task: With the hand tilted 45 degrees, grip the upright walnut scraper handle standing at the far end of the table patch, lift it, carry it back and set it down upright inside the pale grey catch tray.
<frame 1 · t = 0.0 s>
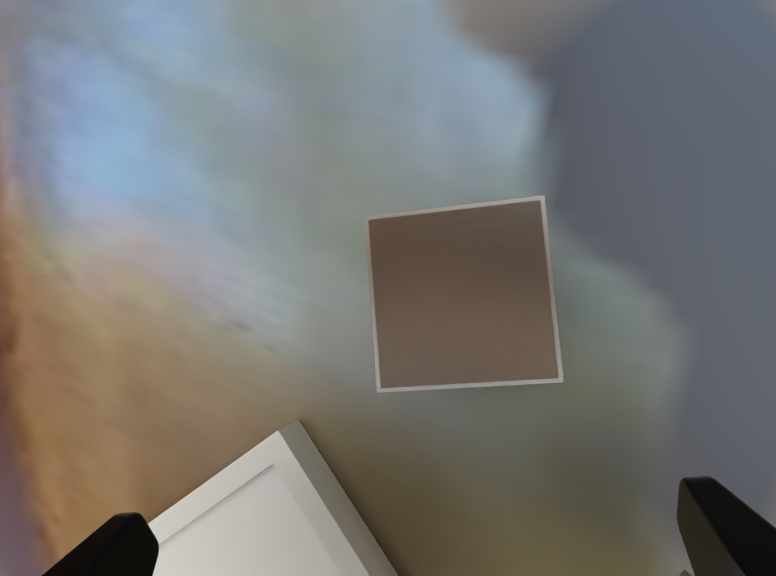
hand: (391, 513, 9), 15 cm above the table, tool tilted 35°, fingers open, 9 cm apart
scraper handle: (470, 309, 23), on the table
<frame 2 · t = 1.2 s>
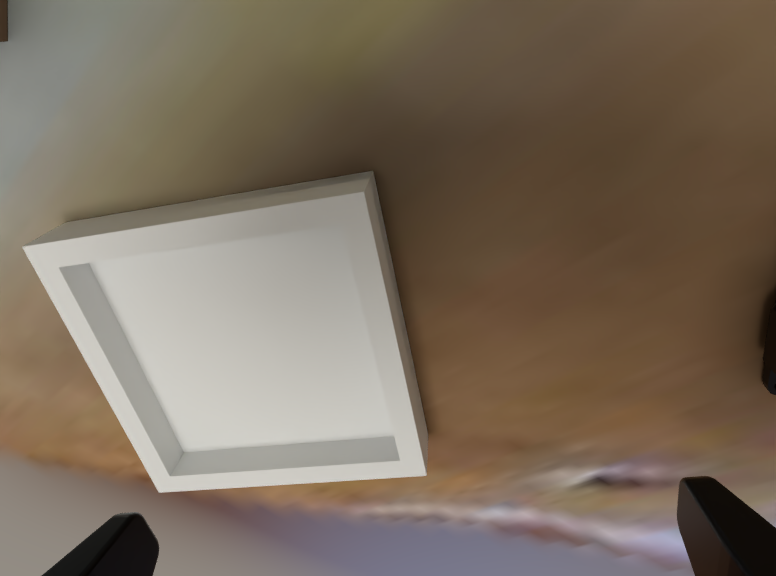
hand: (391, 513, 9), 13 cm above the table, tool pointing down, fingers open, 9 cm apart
catch tray: (260, 336, 23), on the table
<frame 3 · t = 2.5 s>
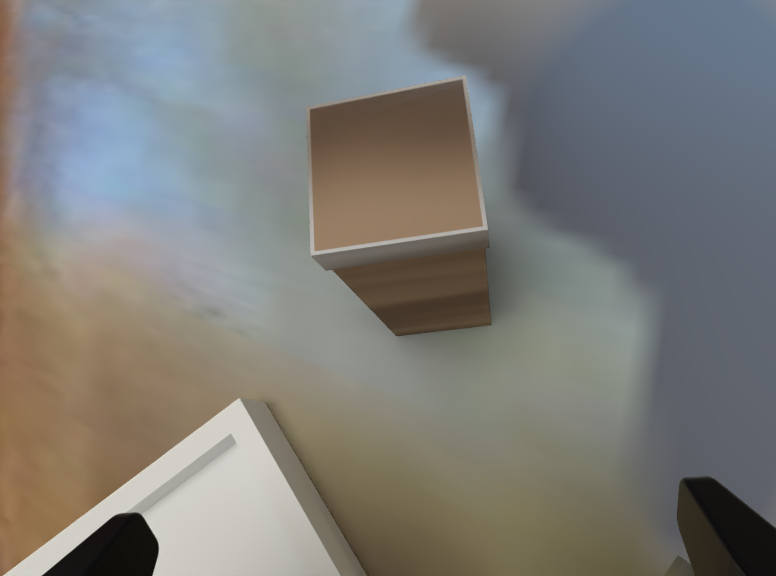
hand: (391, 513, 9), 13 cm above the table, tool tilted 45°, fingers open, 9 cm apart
scraper handle: (438, 285, 24), on the table
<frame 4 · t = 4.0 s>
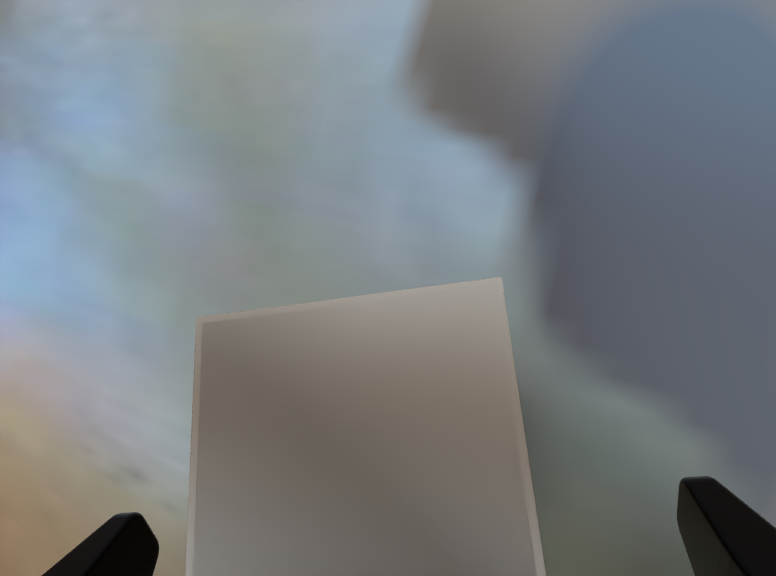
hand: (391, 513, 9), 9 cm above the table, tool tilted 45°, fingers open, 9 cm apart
scraper handle: (441, 455, 17), on the table
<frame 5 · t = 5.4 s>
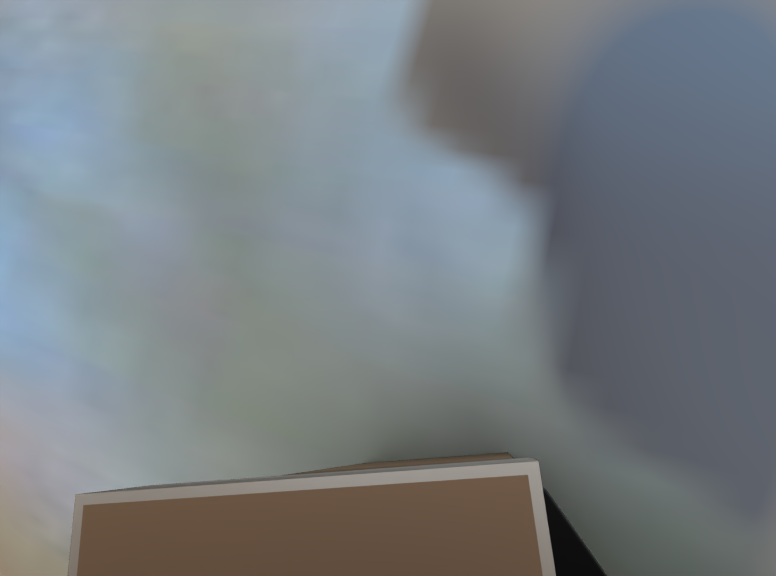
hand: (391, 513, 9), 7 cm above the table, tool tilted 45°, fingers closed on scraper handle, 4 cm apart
scraper handle: (441, 537, 14), on the table, touching gripper
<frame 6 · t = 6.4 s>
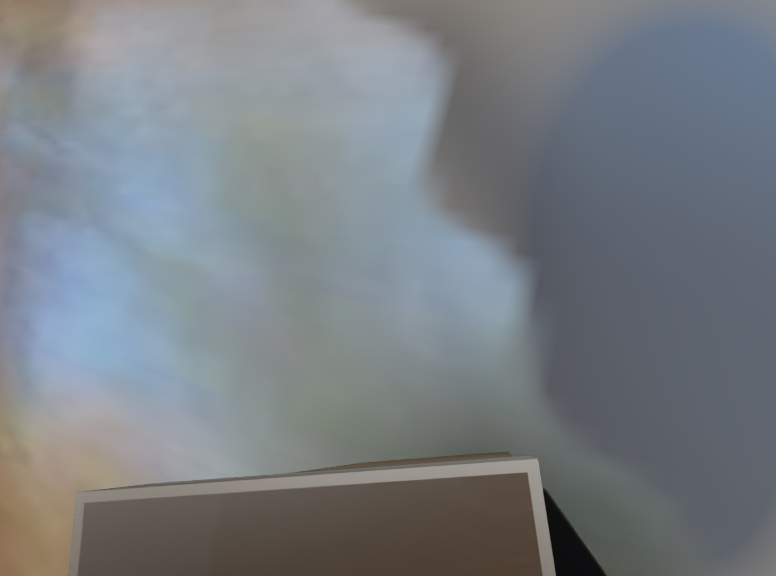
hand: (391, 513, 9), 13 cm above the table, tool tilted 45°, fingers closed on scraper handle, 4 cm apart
scraper handle: (441, 537, 14), point 7 cm above the table, touching gripper
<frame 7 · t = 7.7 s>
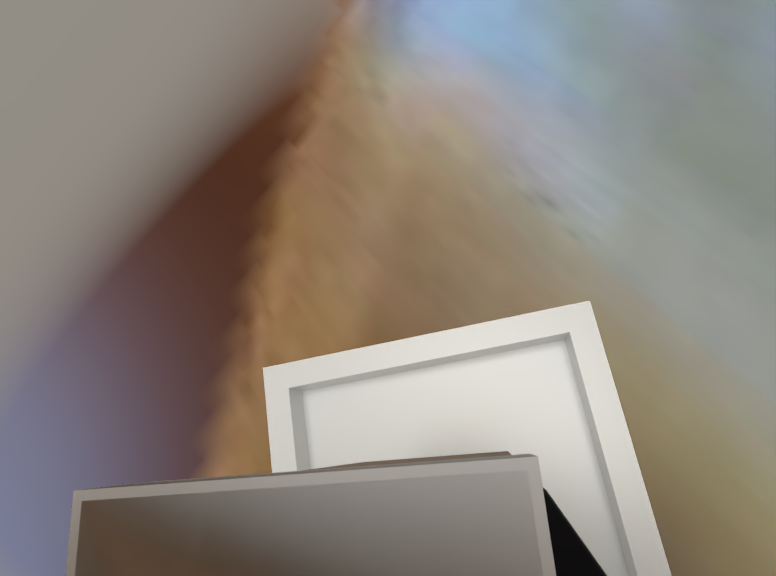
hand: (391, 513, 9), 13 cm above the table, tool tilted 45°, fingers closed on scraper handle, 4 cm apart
catch tray: (457, 506, 21), on the table
scraper handle: (441, 536, 14), point 7 cm above the table, touching gripper
when the fingers open (9 cm above the table, at t = 8.7 s): scraper handle drops 1 cm, resting on catch tray.
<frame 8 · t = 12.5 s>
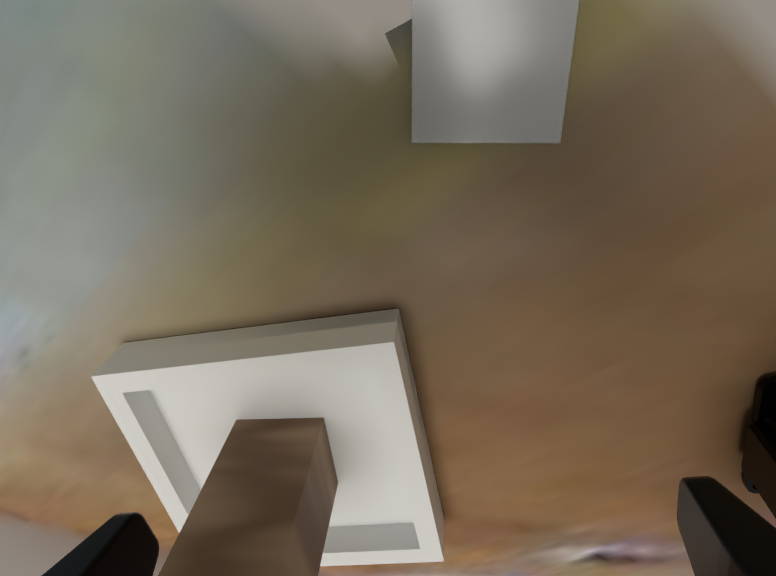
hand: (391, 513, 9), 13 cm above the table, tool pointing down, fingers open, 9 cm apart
slate tile a: (482, 68, 18), on the table
catch tray: (294, 436, 26), on the table
slate tile b: (488, 61, 17), resting on slate tile a
scraper handle: (288, 451, 25), point 1 cm above the table, touching catch tray
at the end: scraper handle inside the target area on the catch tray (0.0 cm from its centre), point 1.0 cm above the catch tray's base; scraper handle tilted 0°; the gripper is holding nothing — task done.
